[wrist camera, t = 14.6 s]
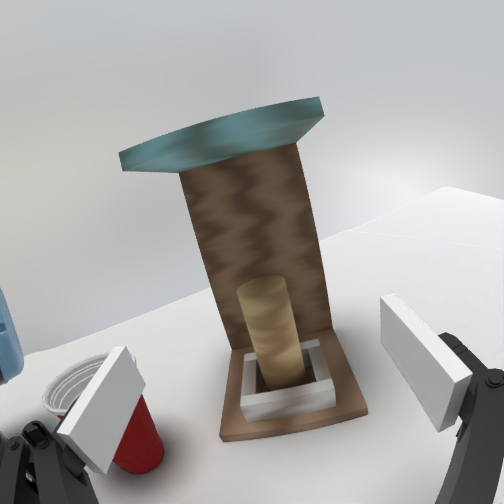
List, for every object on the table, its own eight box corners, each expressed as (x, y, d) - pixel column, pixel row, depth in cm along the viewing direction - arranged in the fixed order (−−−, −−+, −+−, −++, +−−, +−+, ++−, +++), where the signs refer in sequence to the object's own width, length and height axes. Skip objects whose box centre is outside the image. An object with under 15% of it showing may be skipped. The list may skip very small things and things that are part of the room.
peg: (268, 405, 27) (234, 300, 24) (267, 379, 31) (238, 282, 28) (311, 396, 27) (287, 288, 24) (305, 371, 31) (282, 271, 28)
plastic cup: (164, 411, 30) (123, 334, 27) (202, 464, 21) (148, 379, 19) (95, 442, 25) (43, 368, 22) (114, 503, 16) (36, 426, 13)
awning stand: (222, 441, 24) (112, 151, 17) (234, 350, 42) (179, 162, 35) (367, 414, 23) (321, 92, 16) (331, 329, 40) (291, 133, 34)
